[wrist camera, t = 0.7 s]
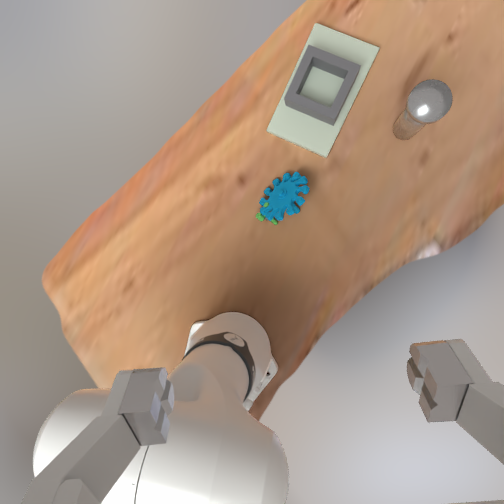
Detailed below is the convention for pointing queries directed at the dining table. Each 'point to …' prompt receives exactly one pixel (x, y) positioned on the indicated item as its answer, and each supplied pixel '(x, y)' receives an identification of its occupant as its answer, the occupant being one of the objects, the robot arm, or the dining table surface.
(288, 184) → the gear
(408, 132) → the pin
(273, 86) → the dining table surface
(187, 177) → the dining table surface
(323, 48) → the socket board
